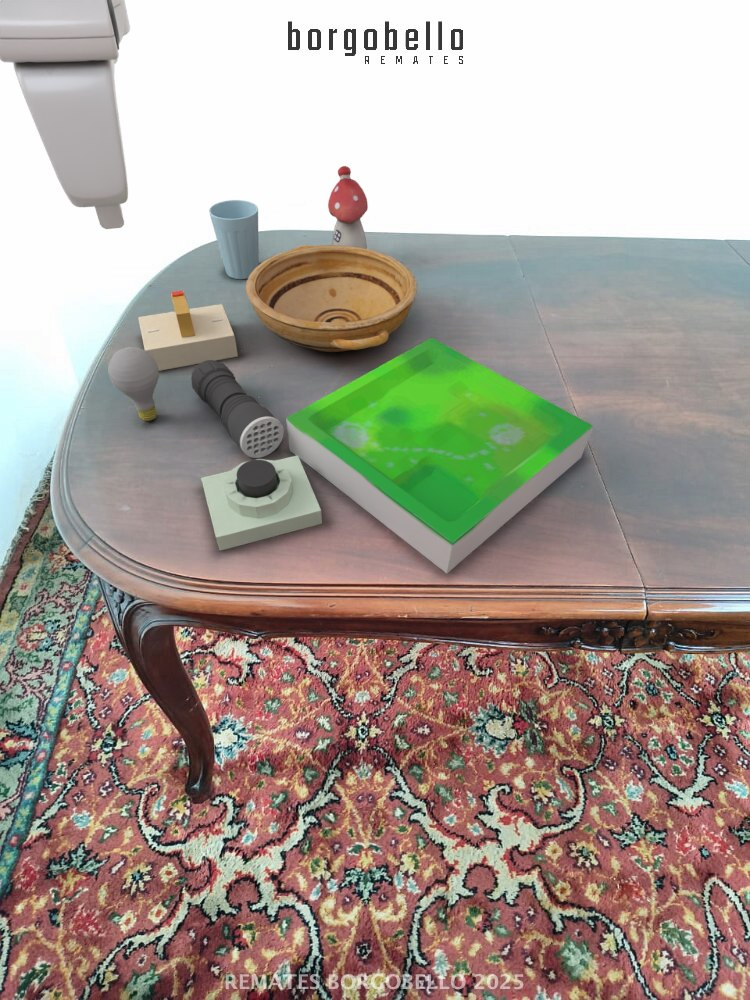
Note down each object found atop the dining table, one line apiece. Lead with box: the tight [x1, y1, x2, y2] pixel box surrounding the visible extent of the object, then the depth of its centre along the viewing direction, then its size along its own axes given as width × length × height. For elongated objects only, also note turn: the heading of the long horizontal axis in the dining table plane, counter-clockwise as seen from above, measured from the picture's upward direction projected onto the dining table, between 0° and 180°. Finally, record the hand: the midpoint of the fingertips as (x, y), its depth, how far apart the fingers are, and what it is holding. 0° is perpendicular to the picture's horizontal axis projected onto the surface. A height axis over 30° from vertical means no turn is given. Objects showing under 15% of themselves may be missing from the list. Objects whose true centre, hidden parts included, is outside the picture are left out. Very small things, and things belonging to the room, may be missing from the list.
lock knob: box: [170, 290, 195, 337], centre depth 81 cm, size 6×2×4 cm, turn 20°
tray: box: [285, 337, 594, 575], centre depth 69 cm, size 25×25×5 cm
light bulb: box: [107, 346, 160, 422], centre depth 71 cm, size 5×6×10 cm
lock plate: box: [138, 303, 239, 372], centre depth 84 cm, size 12×9×4 cm
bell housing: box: [200, 455, 323, 552], centre depth 63 cm, size 11×9×4 cm
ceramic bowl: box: [245, 244, 418, 353], centre depth 86 cm, size 30×24×8 cm
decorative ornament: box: [327, 165, 369, 249], centre depth 99 cm, size 9×7×15 cm
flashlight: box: [190, 360, 284, 459], centre depth 72 cm, size 15×5×5 cm, turn 36°
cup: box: [208, 199, 260, 280], centre depth 98 cm, size 8×8×10 cm
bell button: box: [237, 459, 277, 498], centre depth 61 cm, size 4×4×2 cm
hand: (112, 221), depth 47 cm, fingers closed
